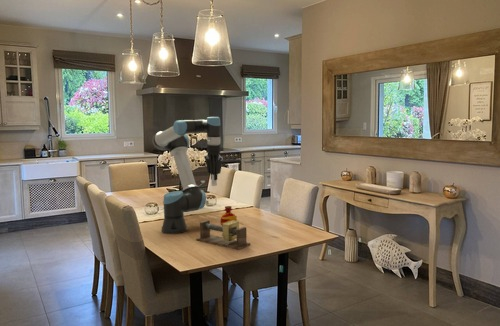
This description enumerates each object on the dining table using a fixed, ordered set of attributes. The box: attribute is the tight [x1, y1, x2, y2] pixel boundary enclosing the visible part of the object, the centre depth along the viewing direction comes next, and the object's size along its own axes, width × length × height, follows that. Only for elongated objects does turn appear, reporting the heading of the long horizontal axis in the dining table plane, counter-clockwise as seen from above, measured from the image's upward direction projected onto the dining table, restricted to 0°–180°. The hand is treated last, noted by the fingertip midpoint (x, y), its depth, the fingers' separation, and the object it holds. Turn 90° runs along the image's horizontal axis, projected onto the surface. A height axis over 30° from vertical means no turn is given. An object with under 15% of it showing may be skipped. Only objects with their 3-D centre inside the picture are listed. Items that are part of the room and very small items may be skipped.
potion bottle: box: [219, 205, 238, 226], centre depth 242 cm, size 10×10×15 cm
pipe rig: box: [196, 219, 251, 251], centre depth 220 cm, size 30×10×10 cm, turn 54°
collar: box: [222, 220, 240, 242], centre depth 217 cm, size 4×9×9 cm, turn 144°
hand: (214, 185), depth 230 cm, fingers closed
